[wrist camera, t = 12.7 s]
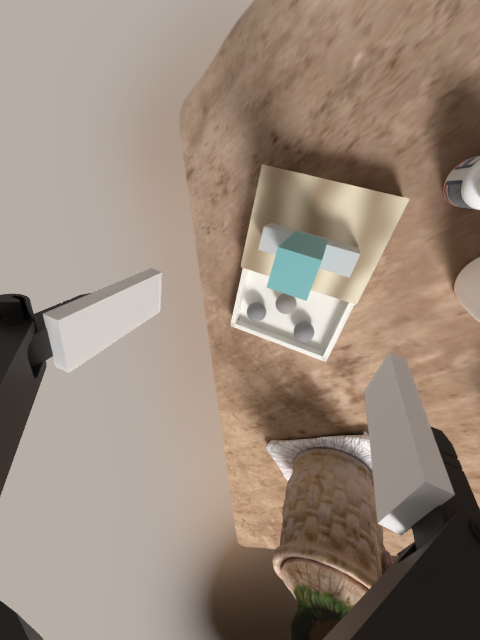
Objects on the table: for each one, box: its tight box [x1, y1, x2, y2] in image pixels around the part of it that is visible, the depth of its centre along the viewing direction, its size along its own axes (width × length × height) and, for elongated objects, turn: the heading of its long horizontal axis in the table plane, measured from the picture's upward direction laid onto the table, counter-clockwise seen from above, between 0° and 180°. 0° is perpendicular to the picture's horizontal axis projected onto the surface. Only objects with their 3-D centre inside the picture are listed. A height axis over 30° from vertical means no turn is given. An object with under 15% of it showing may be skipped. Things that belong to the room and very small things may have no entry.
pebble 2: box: [294, 322, 314, 342], centre depth 43 cm, size 3×3×3 cm
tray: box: [230, 268, 354, 362], centre depth 43 cm, size 18×12×2 cm, turn 78°
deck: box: [240, 164, 409, 305], centre depth 36 cm, size 18×14×4 cm
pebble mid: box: [276, 294, 297, 314], centre depth 42 cm, size 3×3×3 cm
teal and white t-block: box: [258, 223, 360, 301], centre depth 29 cm, size 12×4×14 cm, turn 78°
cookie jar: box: [266, 432, 392, 640], centre depth 45 cm, size 25×25×32 cm
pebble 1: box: [247, 302, 266, 322], centre depth 44 cm, size 3×3×3 cm
